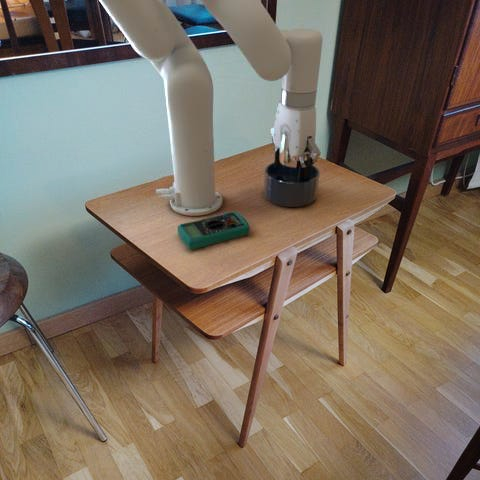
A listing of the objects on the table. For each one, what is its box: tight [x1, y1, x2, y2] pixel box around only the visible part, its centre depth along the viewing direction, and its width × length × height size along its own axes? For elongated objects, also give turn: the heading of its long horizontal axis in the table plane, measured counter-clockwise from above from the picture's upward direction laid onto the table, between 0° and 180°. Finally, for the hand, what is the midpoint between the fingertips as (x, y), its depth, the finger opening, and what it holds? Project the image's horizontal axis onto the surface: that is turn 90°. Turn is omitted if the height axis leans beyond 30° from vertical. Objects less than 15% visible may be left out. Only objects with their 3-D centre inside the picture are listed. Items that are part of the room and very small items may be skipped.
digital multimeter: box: [177, 211, 250, 251], centre depth 97 cm, size 7×15×3 cm, turn 117°
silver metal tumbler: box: [279, 133, 307, 183], centre depth 106 cm, size 7×7×15 cm
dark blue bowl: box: [263, 161, 320, 208], centre depth 110 cm, size 13×13×6 cm
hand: (291, 174), depth 108 cm, fingers open, 8 cm apart
